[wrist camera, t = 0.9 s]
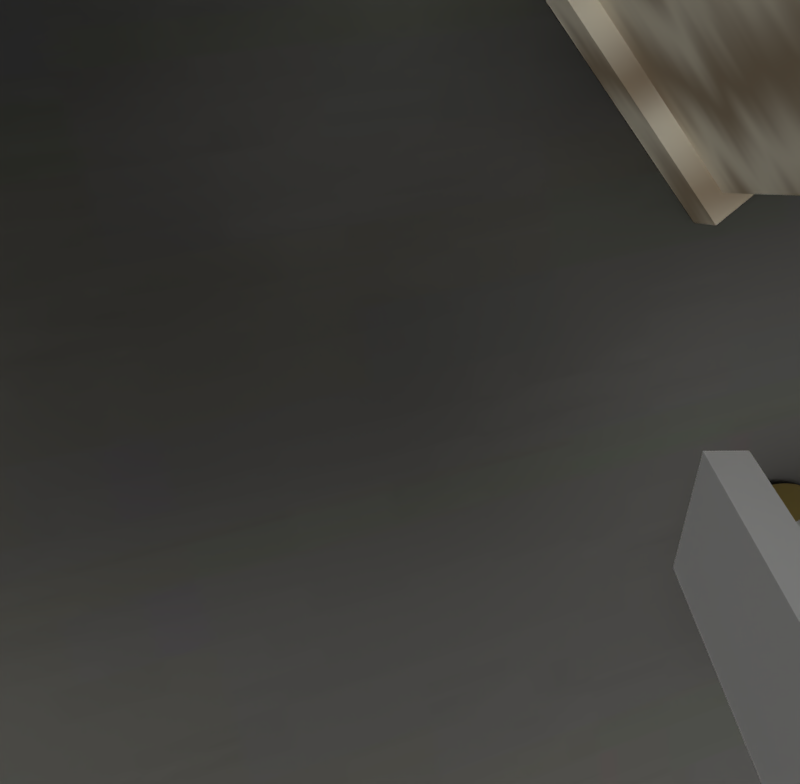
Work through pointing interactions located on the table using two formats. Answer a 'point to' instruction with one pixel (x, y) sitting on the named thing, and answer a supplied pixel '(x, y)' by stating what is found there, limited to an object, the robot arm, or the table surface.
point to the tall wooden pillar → (701, 90)
